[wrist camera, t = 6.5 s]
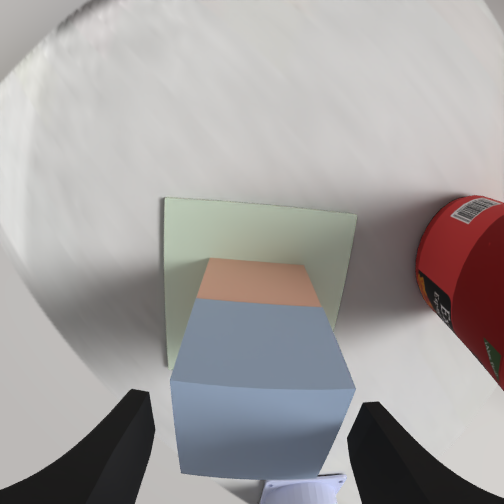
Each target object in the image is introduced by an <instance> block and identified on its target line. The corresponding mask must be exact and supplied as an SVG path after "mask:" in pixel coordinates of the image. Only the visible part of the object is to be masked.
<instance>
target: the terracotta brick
mask: <svg viewBox="0 0 504 504" xmlns="http://www.w3.org/2000/svg"><path fill="white" fill-rule="evenodd" d="M197 298H200V299H211V300H222V301H234V302H247V303H260V304H275V305H290V306H308V307H322V306H321V304H320V302H319V299H318V297H317V294H316V292H315V290H314V287H313V285H312V283H311V280H310V278H309V276H308V273H307V271H306V269H305V267H304V265H295V264H282V263H270V262H258V261H245V260H233V259H221V258H210V259H209V261H208V264H207V267H206V270H205V273H204V276H203V279H202V282H201V285H200V288H199V291H198V294H197Z"/></svg>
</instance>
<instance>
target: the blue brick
mask: <svg viewBox="0 0 504 504" xmlns="http://www.w3.org/2000/svg"><path fill="white" fill-rule="evenodd" d="M170 386H171V397H172V407H173V416H174V425H175V433H176V441H177V449H178V456H179V462H180V469H181V473H183V474H190V475H198V476H208V477H218V478H232V479H253V480H294V479H315V478H317V476H318V474H319V472H320V470H321V468H322V466H323V464H324V462H325V460H326V458H327V456H328V454H329V451H330V449H331V447H332V445H333V443H334V440H335V438H336V436H337V434H338V431H339V429H340V427H341V425H342V422H343V420H344V417H345V415H346V413H347V410H348V408H349V405H350V403H351V400H352V398H353V395H354V392H355V390H356V388H355V385H354V383H353V380H352V377H351V375H350V372H349V370H348V367H347V365H346V362H345V360H344V357H343V355H342V352H341V350H340V347H339V345H338V343H337V340H336V338H335V335H334V333H333V330H332V328H331V326H330V323H329V321H328V318H327V316H326V314H325V311H324V309H323V307H308V306H290V305H275V304H260V303H247V302H234V301H222V300H211V299H200V298H196V299H195V302H194V305H193V308H192V311H191V315H190V318H189V321H188V324H187V327H186V330H185V333H184V336H183V340H182V343H181V346H180V349H179V352H178V356H177V359H176V362H175V365H174V369H173V372H172V375H171V379H170Z"/></svg>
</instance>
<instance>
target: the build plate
mask: <svg viewBox="0 0 504 504" xmlns="http://www.w3.org/2000/svg"><path fill="white" fill-rule="evenodd" d="M356 221H357V215H356V214H350V213H342V212H334V211H325V210H316V209H307V208H297V207H287V206H277V205H266V204H255V203H243V202H231V201H218V200H204V199H189V198H173V197H166V198H165V206H164V294H165V321H166V340H167V356H168V370H173V369H174V365H175V362H176V359H177V356H178V352H179V349H180V346H181V343H182V340H183V336H184V333H185V330H186V327H187V324H188V321H189V318H190V315H191V311H192V308H193V305H194V302H195V299H196V298H197V294H198V291H199V288H200V285H201V282H202V279H203V276H204V273H205V270H206V267H207V264H208V261H209V259H210V258H221V259H233V260H245V261H258V262H270V263H282V264H295V265H304V267H305V269H306V271H307V273H308V276H309V278H310V280H311V283H312V285H313V287H314V290H315V292H316V294H317V297H318V299H319V302H320V304H321V306H322V307H323V309H324V311H325V314H326V316H327V318H328V321H329V323H330V326H331V328H332V330H333V332H334V328H335V323H336V319H337V315H338V311H339V307H340V302H341V298H342V293H343V289H344V284H345V279H346V275H347V270H348V265H349V260H350V254H351V249H352V244H353V238H354V233H355V227H356Z"/></svg>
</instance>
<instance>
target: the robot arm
mask: <svg viewBox="0 0 504 504" xmlns="http://www.w3.org/2000/svg"><path fill="white" fill-rule="evenodd" d="M154 434H155V425H154V419H153V413H152V407H151V401H150V395H149V392H146V391H141V390H135V389H131V390H130V391H129V392H128V393H127V394H126V395H125V396H124V397H123V399H122V400H121V401H120V402H119V403H118V404H117V405H116V406H115V408H114V409H113V410H112V411H111V412H110V413H109V414H108V415H107V416H106V417H105V418H104V419H103V420H102V421H101V422H100V423H99V424H98V425H97V426H96V427H95V428H94V429H93V430H92V431H91V432H90V433H89V434H88V435H87V436H86V437H85V438H83V439H82V440H81V441H80V442H79V443H78V444H77V445H76V446H74V447H73V448H72V449H71V450H69V451H68V452H67V453H66V454H64V455H63V456H62V457H60V458H59V459H58V460H56V461H55V462H53V463H52V464H50V465H49V466H47V467H45V468H44V469H42V470H41V471H39V472H37V473H36V474H34V475H32V476H30V477H28V478H27V479H24V480H22V481H20V482H18V483H16V484H13V485H11V486H9V487H7V488H4V489H1V490H0V504H135V501H136V498H137V495H138V492H139V488H140V485H141V482H142V479H143V476H144V473H145V470H146V467H147V464H148V460H149V457H150V454H151V450H152V445H153V439H154ZM347 443H348V450H349V457H350V463H351V466H352V470H353V473H354V477H355V480H356V484H357V487H358V491H359V494H360V498H361V501H362V504H504V498H502V497H499V496H497V495H494V494H492V493H489V492H487V491H485V490H483V489H481V488H479V487H477V486H475V485H473V484H472V483H470V482H468V481H466V480H464V479H463V478H461V477H460V476H458V475H457V474H455V473H454V472H453V471H451V470H450V469H448V468H447V467H446V466H444V465H443V464H442V463H440V462H439V461H438V460H437V459H436V458H434V457H433V456H432V455H431V454H430V453H429V452H428V451H426V450H425V449H424V448H423V447H422V446H421V445H420V444H419V443H418V442H417V441H416V440H415V439H414V438H413V437H412V436H411V435H410V434H409V433H408V432H407V431H406V430H405V429H404V428H403V427H402V426H401V425H400V424H399V423H398V422H397V421H396V419H395V418H394V417H393V416H392V415H391V414H390V413H389V412H388V411H387V410H386V409H385V408H384V407H383V406H382V405H381V404H380V402H379V401H378V402H365V403H363V404H362V406H361V408H360V411H359V413H358V415H357V418H356V420H355V422H354V424H353V426H352V428H351V431H350V433H349V435H348V437H347ZM346 479H347V477H346V475H333V476H320V477H317V478H315V479H294V480H266V482H265V485H264V489H263V492H262V496H261V499H260V502H259V504H337V500H336V494H337V493H338V491H339V490H340V488H341V487H342V485H343V484H344V482H345V480H346Z"/></svg>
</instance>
